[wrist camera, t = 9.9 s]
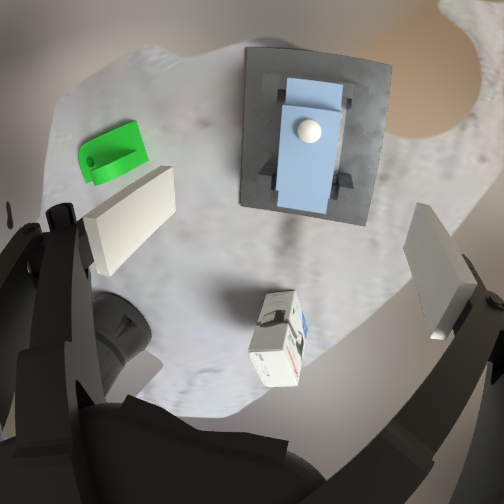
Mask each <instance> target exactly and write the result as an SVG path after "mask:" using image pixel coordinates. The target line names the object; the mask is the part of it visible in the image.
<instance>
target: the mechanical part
mask: <svg viewBox="0 0 504 504" xmlns="http://www.w3.org/2000/svg"><path fill="white" fill-rule="evenodd" d="M78 160H79V165H80V168H81V171H82V174H83V176H84V179H85V182H86V183H89V182H91V181H93V182H94V185H95V186H96V185H100V184H103V183H105V182H108V181H110V180H112V179H115V178H117V177H119V176H121V175H123V174H125V173H127V172H129V171H131V170H132V169H134V168H136V167H138V166H139V165H141V164H143V163H145V162H147V161H149V159H148V156H147V153H146V150H145V147H144V144H143V141H142V138H141V135H140V131H139V128H138V125H137V122H136V121H134V122H131V123H128V124H126V125H123V126H121V127H119V128H116V129H114V130H112V131H110V132H108V133H105V134H103V135H101V136H99V137H97V138H95V139H93V140H91V141H89V142H87V143H85V144H84V145H82V147H81V148H80V151H79V155H78Z"/></svg>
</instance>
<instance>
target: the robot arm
mask: <svg viewBox="0 0 504 504" xmlns="http://www.w3.org/2000/svg"><path fill="white" fill-rule="evenodd" d="M175 211H176V208H175V194H174V177H173V166H160V167H158V168H156V169H155V170H153V171H151V172H150V173H148V174H146V175H145V176H143V177H142V178H140V179H138V180H137V181H135V182H134V183H132V184H130V185H129V186H127V187H126V188H124V189H123V190H121V191H120V192H118V193H116V194H115V195H113V196H112V197H110V198H109V199H107V200H106V201H105V202H103V203H102V204H100V205H99V206H97V207H96V208H94V209H93V210H92V211H90V212H89V213H87V214H86V215H84V216H83V217H82V218H81V219H80V220H78V221H76V217H75V212H74V208H73V204H72V203H61V204H57V205H55V206H53V207H51V208H49V209H48V210H47V211H46V213H45V214H46V217H47V221H48V225H49V229H50V232H43V233H42V230H41V227H40V224H39V223H28V224H26V225H24V226H23V227H22V228H20V229H19V230H18V231H17V232H16V234H15V235H14V236H13V237H12V239H11V240H10V242H9V243H8V244H7V245H6V247H5V248H4V250H3V251H2V252H1V254H0V504H404V503H405V502H406V501H407V500H408V498H409V497H410V496H411V495H412V493H413V492H414V491H415V490H416V489H417V488H418V486H419V485H420V484H421V483H422V481H423V480H424V479H425V477H426V476H427V475H428V473H429V472H430V470H431V469H432V467H433V465H434V461H432V458H433V456H434V455H435V453H436V452H437V450H438V449H439V447H440V446H441V445H442V443H443V441H444V440H445V439H446V437H447V436H448V434H449V432H450V431H451V429H452V428H453V426H454V424H455V423H456V421H457V419H458V418H459V416H460V414H461V413H462V411H463V409H464V407H465V406H466V404H467V402H468V400H469V398H470V396H471V395H472V392H473V391H474V389H475V387H476V385H477V382H478V381H479V379H480V377H481V374H482V372H483V370H484V368H485V366H486V364H487V361H488V364H487V371H486V378H485V384H484V390H483V395H482V400H481V405H480V410H479V414H478V419H477V423H476V427H475V431H474V434H473V438H472V441H471V445H470V448H469V451H468V454H467V457H466V460H465V464H464V466H463V469H462V472H461V475H460V477H459V480H458V483H457V485H456V488H455V490H454V492H453V495H452V497H451V500H450V502H449V504H504V301H503V300H502V299H501V298H500V297H499V296H498V295H497V294H495V293H493V292H491V291H487V290H486V288H485V286H484V284H483V282H482V280H481V279H480V277H479V276H478V273H477V272H476V270H475V268H474V266H473V265H472V263H471V261H470V260H469V259H468V258H467V257H465V255H463V254H461V253H460V251H459V250H458V248H457V247H456V245H455V243H454V242H453V240H452V238H451V237H450V235H449V234H448V232H447V230H446V229H445V227H444V226H443V224H442V223H441V221H440V220H439V218H438V217H437V215H436V214H435V212H434V211H433V209H432V208H431V207H430V205H426V204H422V203H417V204H416V208H415V212H414V215H413V218H412V222H411V225H410V228H409V232H408V235H407V238H406V241H405V244H404V247H403V249H404V252H405V255H406V258H407V261H408V264H409V267H410V270H411V273H412V276H413V279H414V282H415V286H416V289H417V292H418V296H419V299H420V302H421V306H422V310H423V314H424V317H425V321H426V325H427V329H428V333H429V337H430V338H432V339H442V340H445V339H446V338H447V337H448V335H449V334H450V332H451V330H452V329H453V331H454V334H455V337H454V339H453V340H452V342H451V343H450V345H449V346H448V348H447V349H446V351H445V352H444V354H443V355H442V357H441V358H440V360H439V361H438V362H437V364H436V365H435V367H434V368H433V369H432V371H431V372H430V373H429V375H428V376H427V377H426V379H425V380H424V381H423V383H422V384H421V385H420V386H419V388H418V389H417V390H416V391H415V393H414V394H413V395H412V396H411V397H410V399H409V400H408V401H407V402H406V403H405V405H404V406H403V407H402V408H401V409H400V410H399V411H398V413H397V414H396V415H395V416H394V417H393V418H392V419H391V421H390V422H389V423H388V424H387V425H386V426H385V427H384V428H383V429H382V430H381V431H380V432H379V433H378V434H377V435H376V436H375V437H374V438H373V439H372V440H371V441H370V442H369V443H368V444H367V445H366V446H365V447H364V448H363V449H362V450H361V451H360V452H359V453H358V454H357V455H356V456H355V457H353V458H352V459H351V460H350V461H349V462H348V463H347V464H346V465H345V466H343V467H342V468H341V469H340V470H339V471H338V472H336V473H335V474H334V475H333V476H332V477H330V478H329V479H328V480H327V481H326V480H325V478H324V477H323V476H322V475H321V473H319V471H318V470H317V469H316V468H314V467H313V466H312V465H311V464H310V463H308V462H307V461H306V460H304V459H303V458H301V457H299V456H297V455H296V454H293V453H291V452H289V451H287V446H288V442H289V441H286V440H281V439H275V438H270V437H264V436H260V435H255V434H251V433H246V432H214V431H201V430H197V429H195V428H193V427H192V426H190V425H189V424H187V423H185V422H184V421H182V420H180V419H179V418H177V417H176V416H174V415H173V414H171V413H170V412H168V411H166V410H165V409H163V408H162V407H159V406H156V405H154V404H151V403H148V402H146V401H143V400H141V399H138V398H136V397H133V396H131V395H127V397H126V399H125V400H124V402H123V403H107V402H106V399H105V397H106V395H107V393H108V392H109V390H110V389H111V387H112V385H113V384H114V382H115V380H116V379H117V377H118V375H119V374H120V372H121V371H122V369H123V367H124V366H125V364H126V363H127V362H128V361H130V360H131V359H132V358H134V357H135V356H136V355H137V354H138V353H140V352H141V351H143V350H144V349H145V348H146V347H147V345H148V344H149V342H150V340H151V337H152V334H151V330H150V327H149V325H148V323H147V322H146V320H145V319H144V317H143V316H142V315H141V314H140V313H139V312H138V311H137V310H136V309H135V308H134V307H133V306H132V305H130V304H129V303H128V302H126V301H125V300H123V299H121V298H119V297H117V296H114V295H111V294H101V295H99V296H97V297H96V298H95V300H94V301H93V302H92V291H91V273H90V269H89V266H90V265H91V264H92V263H93V262H94V264H95V268H96V271H97V273H98V274H102V275H105V276H109V277H110V276H111V275H112V274H113V273H114V272H115V271H116V270H117V269H118V268H119V267H120V266H121V265H122V264H123V262H124V261H125V260H126V259H127V258H128V257H129V256H130V255H131V254H132V253H133V252H134V251H135V250H136V249H137V248H138V247H139V246H140V245H141V244H142V243H143V242H144V241H145V240H146V239H147V238H148V237H149V236H150V235H151V234H152V233H153V232H154V231H155V230H156V229H157V228H158V227H160V226H161V225H162V224H163V223H164V222H165V221H166V220H167V219H168V218H169V217H170V216H171V215H172V214H173V213H174V212H175ZM27 267H28V269H27ZM28 270H29V273H28ZM14 392H15V425H16V436H15V437H12V438H9V439H7V438H6V437H5V435H3V434H2V430H3V427H4V426H5V423H6V420H7V417H8V415H9V411H10V407H11V403H12V400H13V395H14Z"/></svg>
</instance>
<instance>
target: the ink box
mask: <svg viewBox="0 0 504 504" xmlns="http://www.w3.org/2000/svg"><path fill="white" fill-rule="evenodd" d="M306 335H307V325H306V322H305V319H304V316H303V312H302V310H301V306H300V303H299V300H298V297H297V294H296V291H286V292H276V293H267V294H266V297H265V300H264V303H263V306H262V309H261V313H260V316H259V319H258V322H257V325H256V328H255V331H254V334H253V337H252V340H251V343H250V346H249V349H248V352H249V357H250V359H251V361H252V363H253V364H254V366H255V368H256V371H257V372H258V374H259V376H260V378H261V380H262V382H263V384H264V385H265V386H267V387H283V386H284V387H286V386H287V387H289V386H298V381H299V375H300V370H301V364H302V359H303V353H304V347H305V341H306Z"/></svg>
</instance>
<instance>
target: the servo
mask: <svg viewBox="0 0 504 504" xmlns="http://www.w3.org/2000/svg"><path fill="white" fill-rule="evenodd" d="M342 91H343V85H341V84H335V83H328V82H321V81H313V80H304V79H295V78H287V90H286V104H283V105H282V117H281V131H280V144H279V157H278V170H277V182H276V190H277V191H279V192H278V203H277V206H278V207H285V208H292V209H298V210H304V211H310V212H316V213H322V214H326V210H327V204H328V198H330V192H331V186H332V179H333V173H334V166H335V159H336V152H337V144H338V137H339V129H340V120H341V111H340V110H341V101H342Z"/></svg>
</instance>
